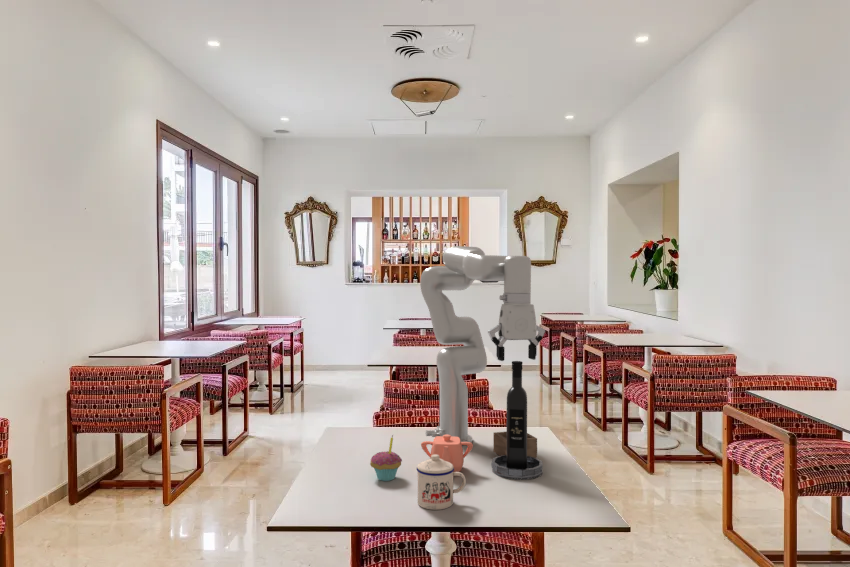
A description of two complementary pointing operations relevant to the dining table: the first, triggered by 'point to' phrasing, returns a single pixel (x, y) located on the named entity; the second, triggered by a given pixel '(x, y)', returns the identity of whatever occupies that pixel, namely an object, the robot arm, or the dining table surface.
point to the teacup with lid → (436, 483)
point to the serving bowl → (531, 472)
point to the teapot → (448, 450)
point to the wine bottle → (516, 421)
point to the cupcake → (386, 464)
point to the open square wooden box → (501, 444)
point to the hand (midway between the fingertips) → (516, 359)
